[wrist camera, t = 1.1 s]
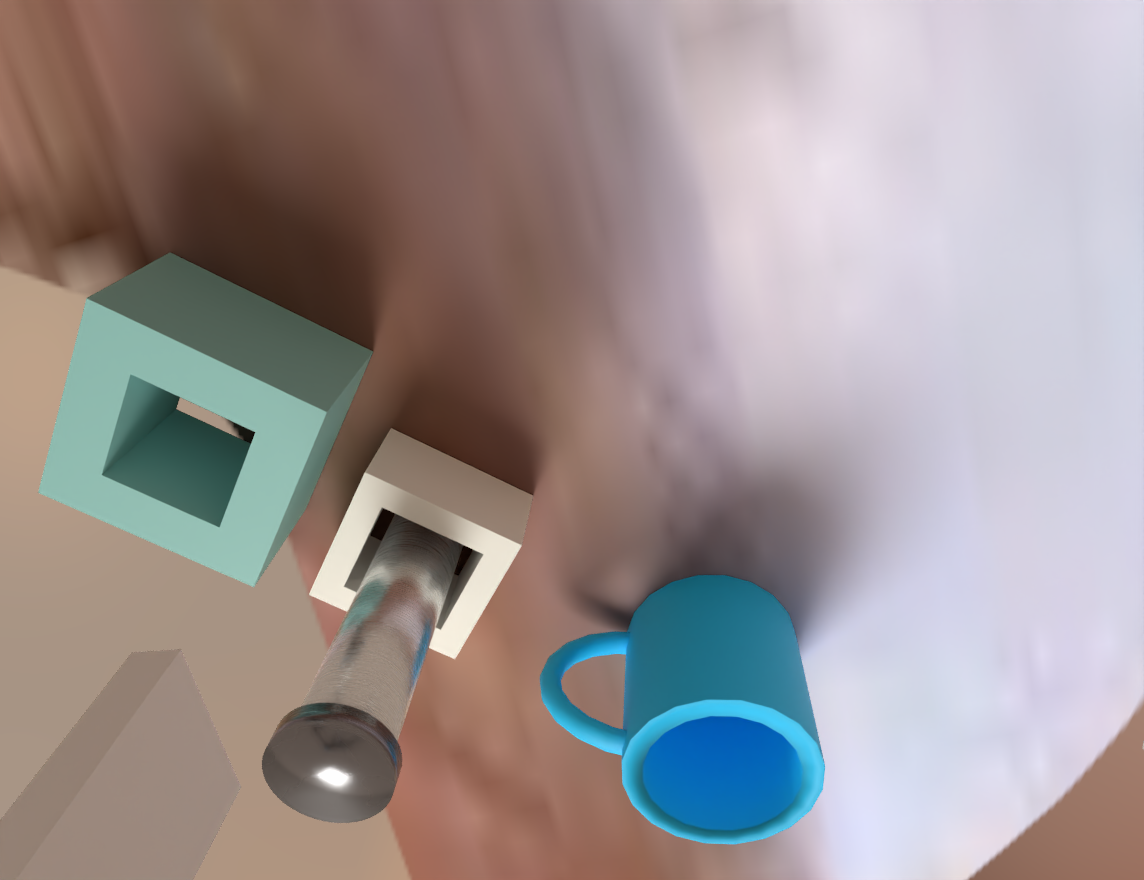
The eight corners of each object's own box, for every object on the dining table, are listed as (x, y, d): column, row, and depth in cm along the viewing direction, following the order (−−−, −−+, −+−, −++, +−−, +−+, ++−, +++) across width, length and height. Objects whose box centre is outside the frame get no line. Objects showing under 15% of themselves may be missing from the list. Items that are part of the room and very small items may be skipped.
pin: (375, 534, 42) (245, 791, 28) (408, 465, 40) (285, 706, 26) (456, 571, 42) (366, 839, 29) (492, 505, 40) (414, 760, 27)
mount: (337, 543, 42) (308, 594, 38) (391, 428, 39) (364, 472, 35) (471, 603, 43) (454, 659, 39) (533, 495, 40) (521, 545, 36)
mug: (813, 586, 41) (847, 714, 34) (776, 716, 45) (800, 856, 38) (556, 552, 41) (536, 672, 34) (541, 684, 45) (520, 817, 38)
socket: (120, 425, 40) (38, 492, 35) (170, 252, 36) (86, 298, 31) (305, 509, 41) (254, 587, 36) (373, 351, 37) (327, 412, 32)
